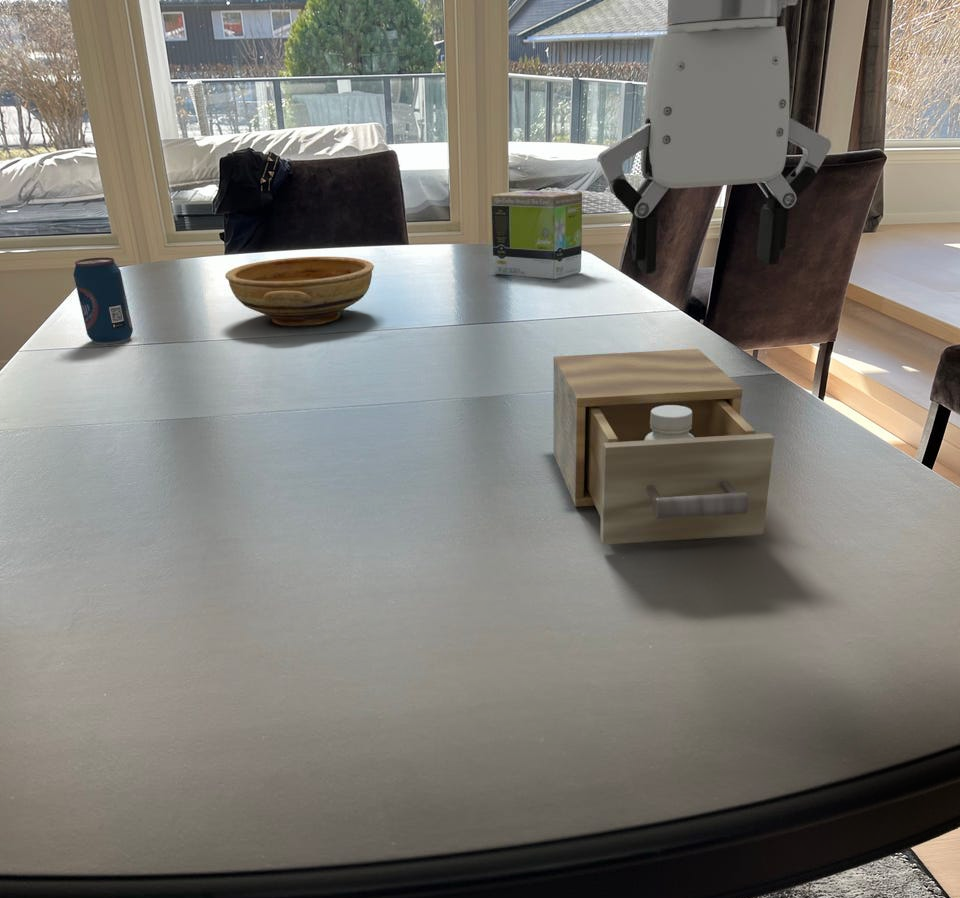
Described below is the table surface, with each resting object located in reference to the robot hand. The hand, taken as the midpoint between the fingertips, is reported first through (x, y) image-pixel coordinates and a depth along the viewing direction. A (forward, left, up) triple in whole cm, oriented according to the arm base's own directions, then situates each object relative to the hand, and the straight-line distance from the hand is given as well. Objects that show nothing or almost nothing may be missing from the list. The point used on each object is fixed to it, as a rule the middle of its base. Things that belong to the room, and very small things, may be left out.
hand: (707, 266), depth 76 cm
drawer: (+2, +3, -20) cm, 20 cm away
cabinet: (+2, -11, -21) cm, 24 cm away
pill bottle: (+2, +1, -19) cm, 19 cm away
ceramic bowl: (+41, -92, -21) cm, 103 cm away
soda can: (+71, -83, -21) cm, 111 cm away
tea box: (-2, -123, -21) cm, 124 cm away
